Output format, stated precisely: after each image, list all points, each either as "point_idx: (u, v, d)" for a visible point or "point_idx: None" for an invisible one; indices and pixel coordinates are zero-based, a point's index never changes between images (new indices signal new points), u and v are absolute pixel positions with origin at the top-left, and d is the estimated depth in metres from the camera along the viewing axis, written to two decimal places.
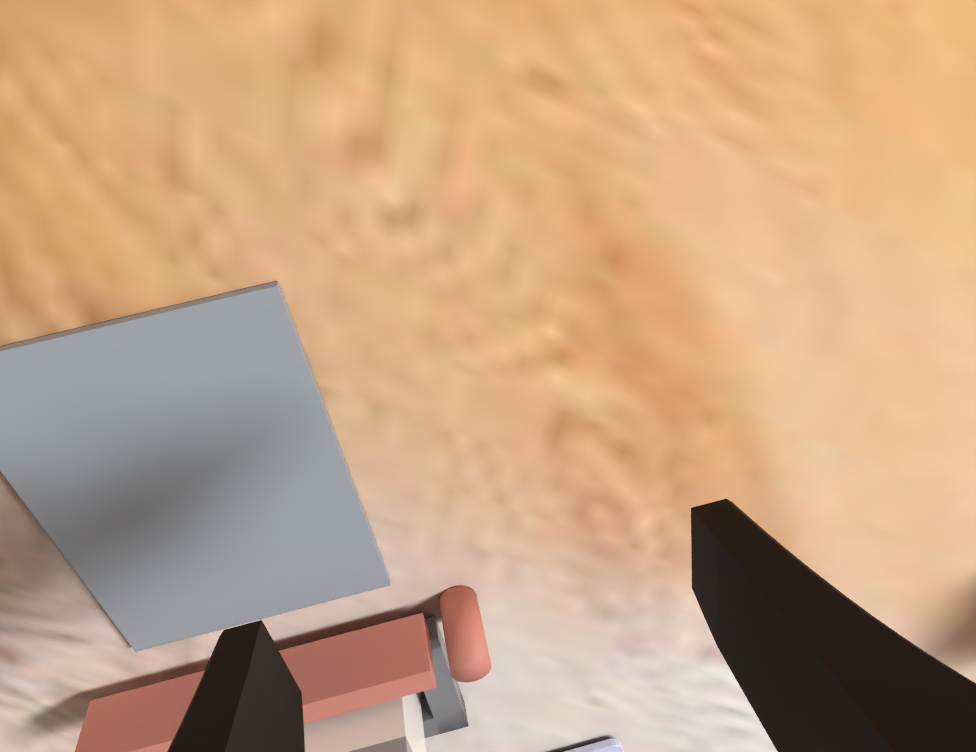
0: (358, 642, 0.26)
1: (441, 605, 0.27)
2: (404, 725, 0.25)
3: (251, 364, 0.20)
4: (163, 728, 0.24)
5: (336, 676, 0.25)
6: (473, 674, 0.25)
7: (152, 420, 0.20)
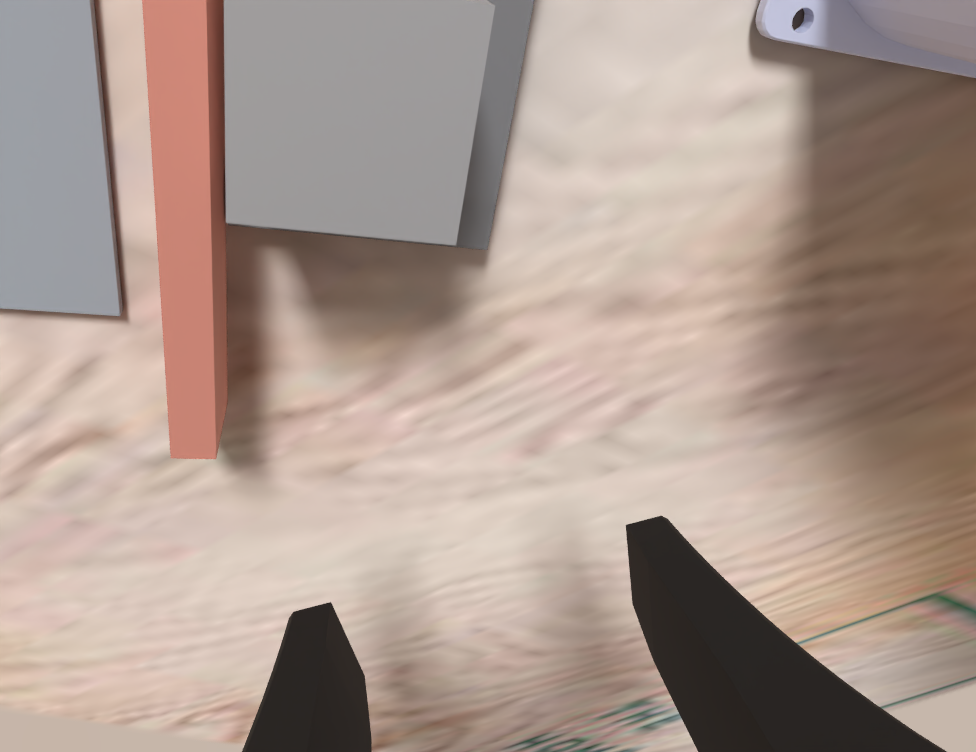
0: None
1: None
2: None
3: None
4: None
5: None
6: None
7: None
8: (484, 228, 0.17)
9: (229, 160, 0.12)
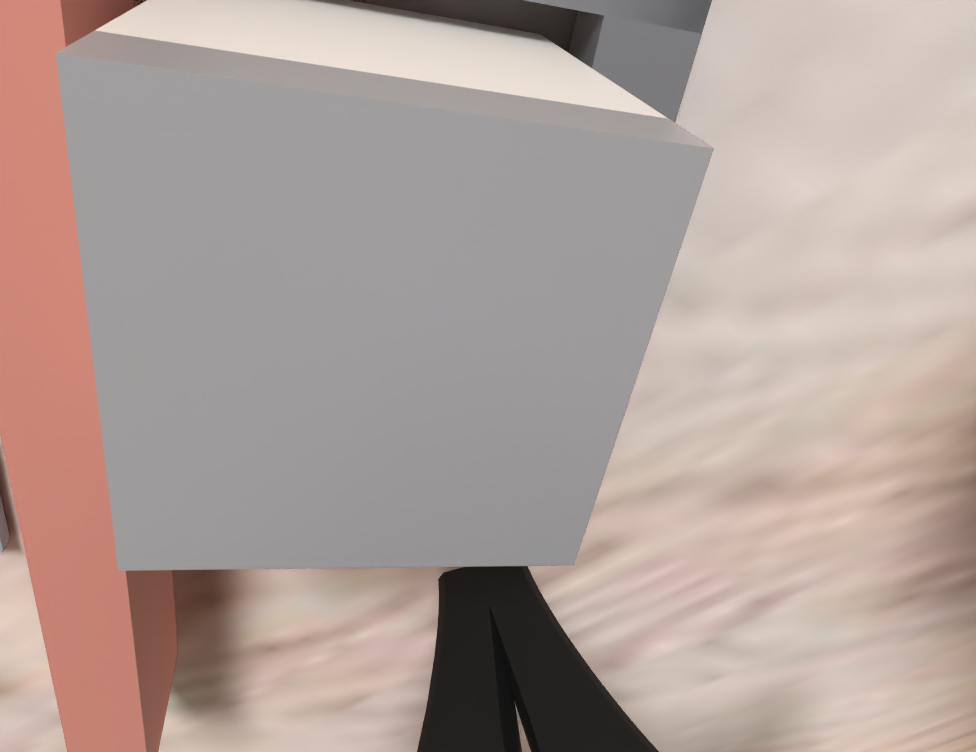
0: None
1: None
2: (121, 25, 0.05)
3: None
4: None
5: None
6: None
7: None
8: None
9: (115, 467, 0.06)
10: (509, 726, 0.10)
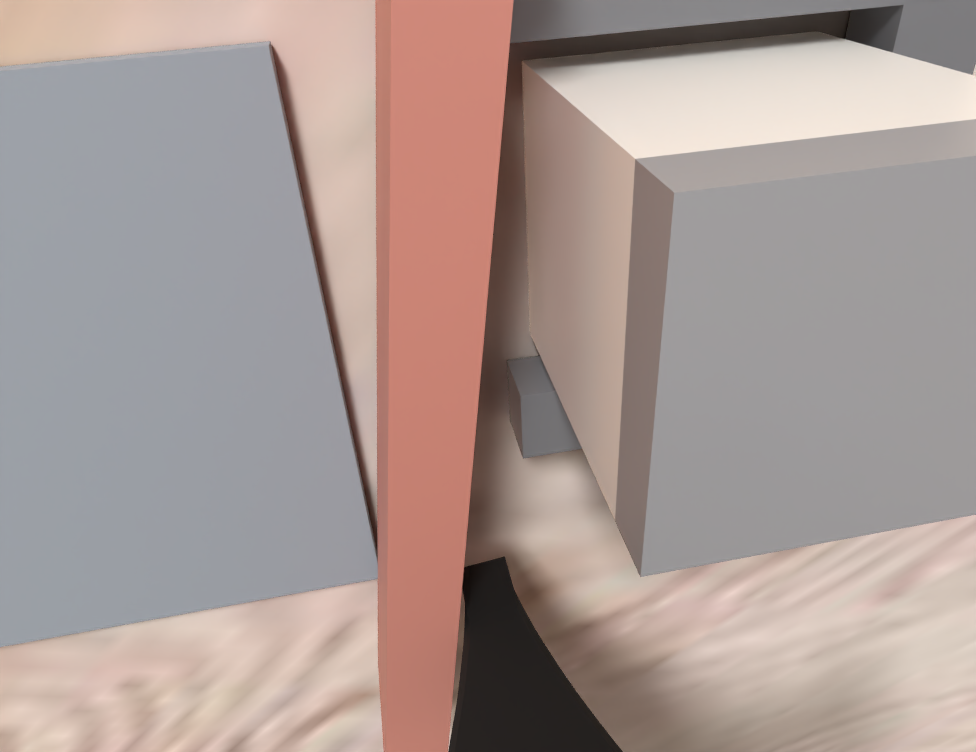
0: (378, 186, 0.09)
1: None
2: (625, 144, 0.06)
3: None
4: (384, 647, 0.11)
5: (384, 291, 0.08)
6: None
7: None
8: None
9: (652, 495, 0.07)
10: None
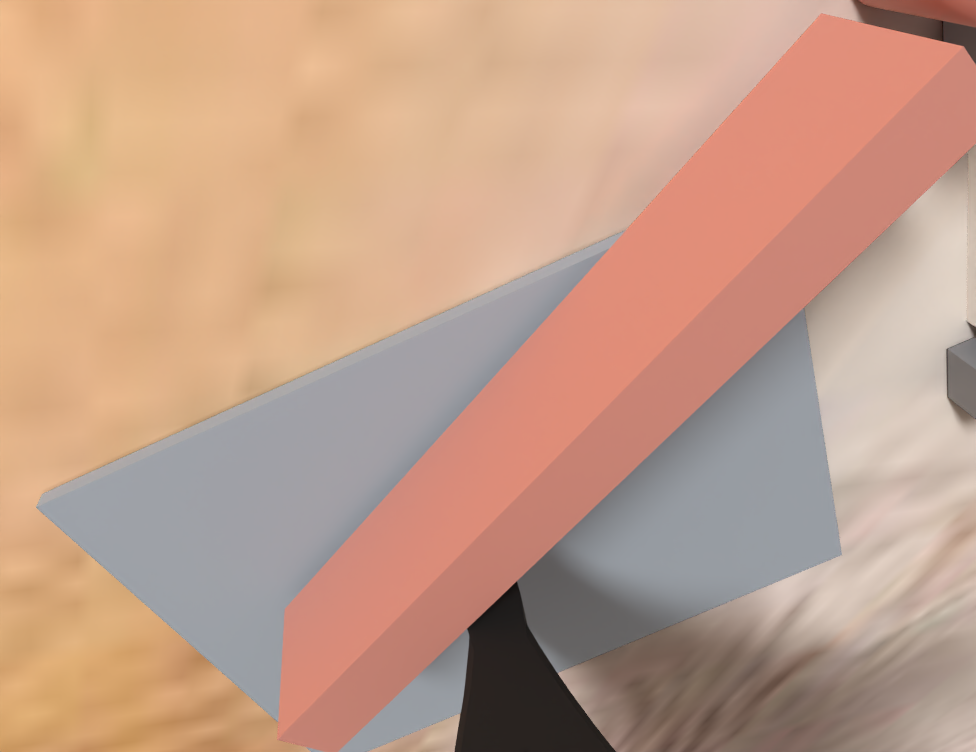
0: (698, 182, 0.09)
1: None
2: None
3: (213, 511, 0.12)
4: (393, 589, 0.10)
5: (689, 267, 0.09)
6: None
7: None
8: None
9: None
10: None
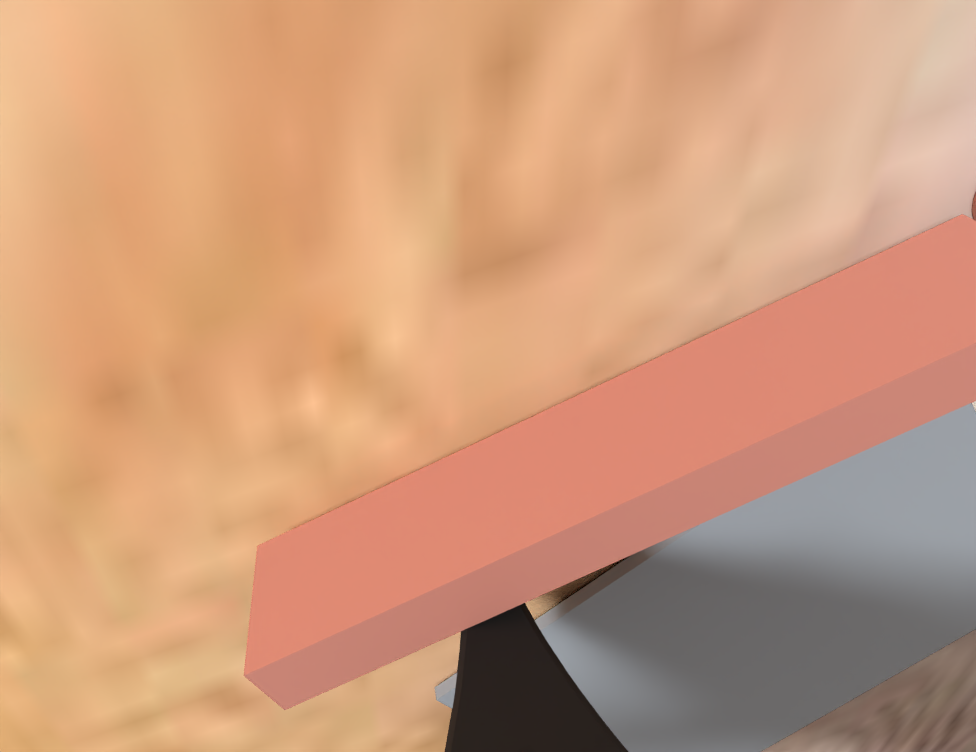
0: (833, 300, 0.11)
1: None
2: None
3: None
4: (434, 557, 0.10)
5: (825, 366, 0.10)
6: None
7: (660, 703, 0.17)
8: None
9: None
10: None
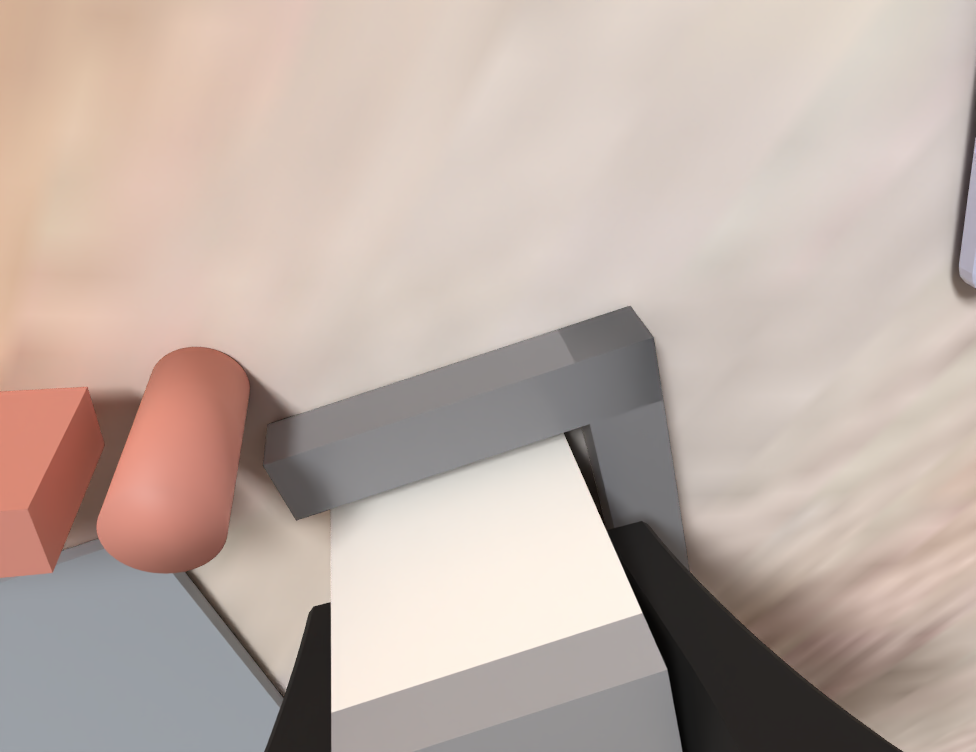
0: None
1: (147, 385, 0.10)
2: (336, 681, 0.09)
3: None
4: None
5: None
6: (171, 550, 0.09)
7: None
8: None
9: None
10: None
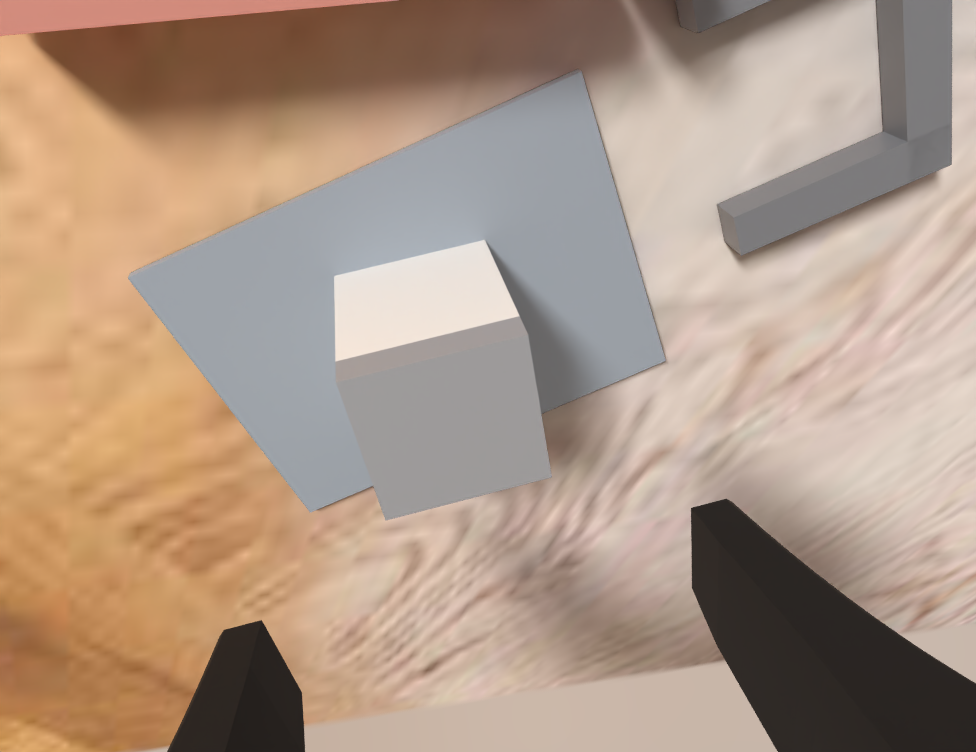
0: None
1: None
2: (338, 351, 0.16)
3: (236, 290, 0.18)
4: None
5: None
6: None
7: (330, 367, 0.20)
8: (945, 148, 0.19)
9: (376, 485, 0.16)
10: None
